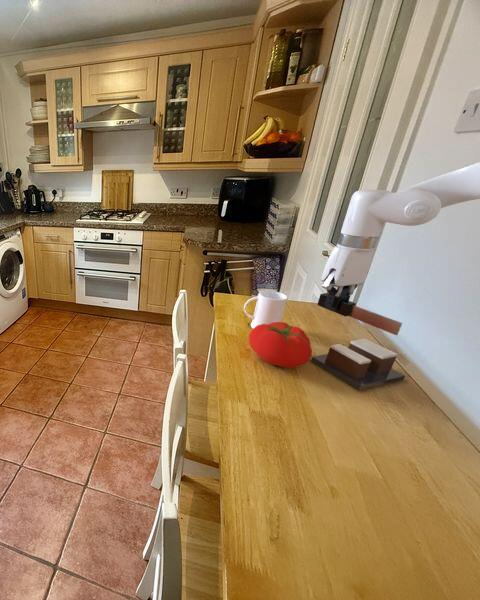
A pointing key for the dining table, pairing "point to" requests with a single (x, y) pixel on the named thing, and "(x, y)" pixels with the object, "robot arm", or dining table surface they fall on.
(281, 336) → the tomato
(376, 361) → the cake
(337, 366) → the cake slice
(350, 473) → the dining table surface
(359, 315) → the brown flat long piece
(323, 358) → the cake board
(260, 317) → the mug
